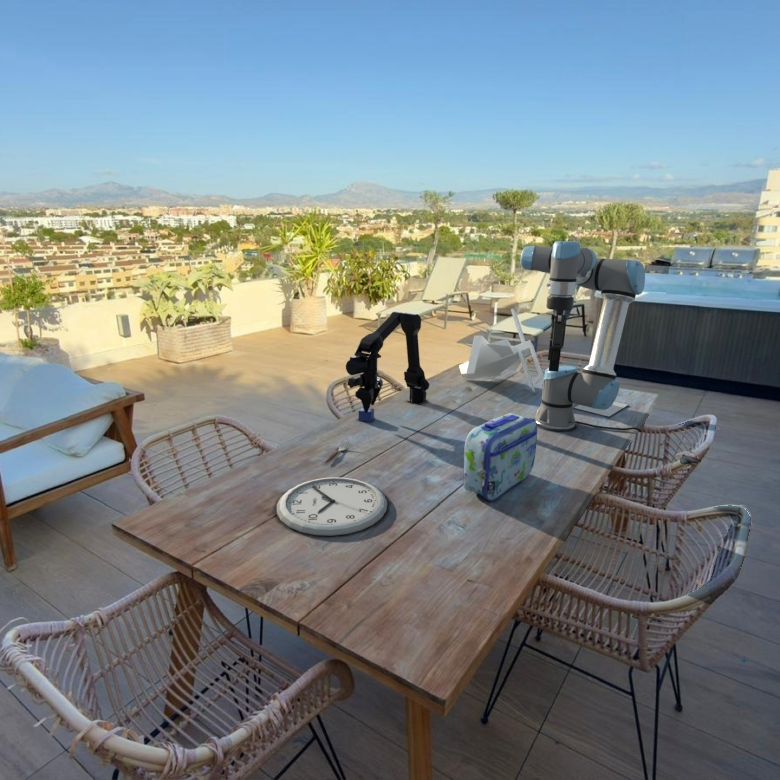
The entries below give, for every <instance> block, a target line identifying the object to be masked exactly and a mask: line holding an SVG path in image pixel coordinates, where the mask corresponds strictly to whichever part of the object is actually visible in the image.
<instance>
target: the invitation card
mask: <svg viewBox="0 0 780 780" xmlns="http://www.w3.org/2000/svg"><path fill="white" fill-rule="evenodd" d="M628 406H629V404H627V403H623V402H618V401H614V403H613V404H612V405H611V406H610V407H609V408H608V409H606V410H601V409H593V408H591V407H587V406H583V405H579V404H577V405H575V406H574V407H573V409H575V410H581V411H584V412H587V413H593V414H596V415H600V416H604V417H608V418H609V417H611V416H613V415H614V414H616V413H617V412H619V411H621V410H623V409H624V408H626V407H628Z"/></svg>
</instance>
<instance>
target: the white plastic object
mask: <svg viewBox="0 0 780 780" xmlns="http://www.w3.org/2000/svg"><path fill="white" fill-rule="evenodd" d="M510 311H511V315H512V319H513V321H514V324H515V327H516V330H517V333H518V336H519V340H520V343H518V344H515V345H512V344H511V342H510V341H509V340H508V339H507V338H506V339H502V340H497V341H492V342H489V341H488V340H487V339H486V338H485V337H484V335H477V334H476V335H475V334H474V336H473V340H472V345H471V349H470V353H469V358H468V361H465V362H464V363H461V364H459V365H458V368H459V371H460V375H461V376H462V378H463V379H464V380H474V379H483V378H484V379H485V378H492V379H495V378H497V377H500V376H502V373H503V372H504V371H506V370H507V369H508V368H510V367H511V366H512V365H514V364H515V363H517V362H519V361H520V363H521V366H522V369H523V372H524V375H525V379H526V382H527V385H528V387H529V388H530V390H531V391H532V392H533V394H535V393H536V389H535V385H534V382H533V379H532V376H531V373H530V370H529V369H530V368H529V367H528V363H527V360H526V356H529V355H531V357H532V360H533V364H534V366H535V370H536V372H537V375H538V379H539V381H540V384H541V386H542V387H543V381H544V380H543V379H544V373H543V370H542V368H541V367H542V366H541V364H540V361H539V358H538V355H537V353H536V350H535V346H534V343H532V341H531V339H528V340H526V338H525V335H524V332H523V329H522V326H521V322H520V320H519V317H518V314H517V312H516V311H515V309H514V308H510Z"/></svg>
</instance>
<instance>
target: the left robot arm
mask: <svg viewBox="0 0 780 780" xmlns="http://www.w3.org/2000/svg"><path fill="white" fill-rule="evenodd" d="M399 326H400V328H401V330H402V332H403V333H404V335H405V343H406V355H407V368H406V370H405V371H404V372H403V377H404V379H403V381H404V382H405V384H406V387H407V388H409V399H408V400H407V403H412V404H417V405H422V404H423V403H426V402H427V401H428V399H427V390H428V389H429V388H430V382H429V381H428V380H427V379H426V376H425V371H424V369H423V367H422V366H421V361H420V348H419V347H420V346H419V332H420V330H421V328H422V317H421V315H420V314H418V313H411V312H401V311H392V312H391V313H390V316H388V318H386V319H385V320H384V322H383V323H382V324H381V325H379V327H377V329H376V330H375V331H374V332H370V333H368V334H366V335H365V336H364V337H362V338H361V339H360V341H359V344H358V346H357V348H356V350H355V352H354V354H353V355H354V356H349V360H347V362H346V364H345V370H346V372H347V374H348V375H350V376H352V377H349V378H348V379H347V381H346V382H347V383H346V385H347V386H348V387H349V389H353V388H355V387H359V388H358V389H357V390H355V393H354V395H355V398H356V399H358V400H360V401H361V404H362V408H364V412H365V413H367V412H368V410H369V408H371V406H375V403H376V401H377V399H378V397H379V394H380V392H381V390H382V387H383V385H384V381H383V379H382V378H378V376H379V371H378V359H381V358H382V355H381V354H380V353H379V352H380V351H381V350H382V348H383V347H384V343H385V340H386V339H387V338H388V337H389V336H390V335H391V334H392V333H393V332H394V331H395V330H396V329H397V328H398V327H399Z"/></svg>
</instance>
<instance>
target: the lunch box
mask: <svg viewBox="0 0 780 780" xmlns="http://www.w3.org/2000/svg"><path fill="white" fill-rule="evenodd" d="M537 438H538V425H537V422H536V420H535V418H534V417H530V418H528V417H525V416H521V415H519V414H516V413H513V412H510V413H505V414H503V415H501V416H498V417H495V418H494V419H492V420H489V421H487V422H484V423H482V424H480V425H478V426H476V427H474V428H472V429H471V430H470V431H469V433H468V434H467V436H466V438H465V441H464V448H463V468H462V469H463V470H462V471H463V472H462V473H463V474H462V476H463V477H462V483H463V488H464V490H465V491H469V492H470V493H475V494H477V495H480V496H481V497H482V498H484V499H485V500H487V501H489V502H493V501H495V500H497V499H498V498H499V497H501V496H502V495H504V493H506V492H508V491H510V490H511V489H512V488H513V487H514V486H516V485H517V484H519V483H520V482H522V481H525V480H526V479H527V478H528V477H529V476H530V474H531V473H532V470H533V468H534V464H535V461H536V451H537V441H538V439H537Z"/></svg>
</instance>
